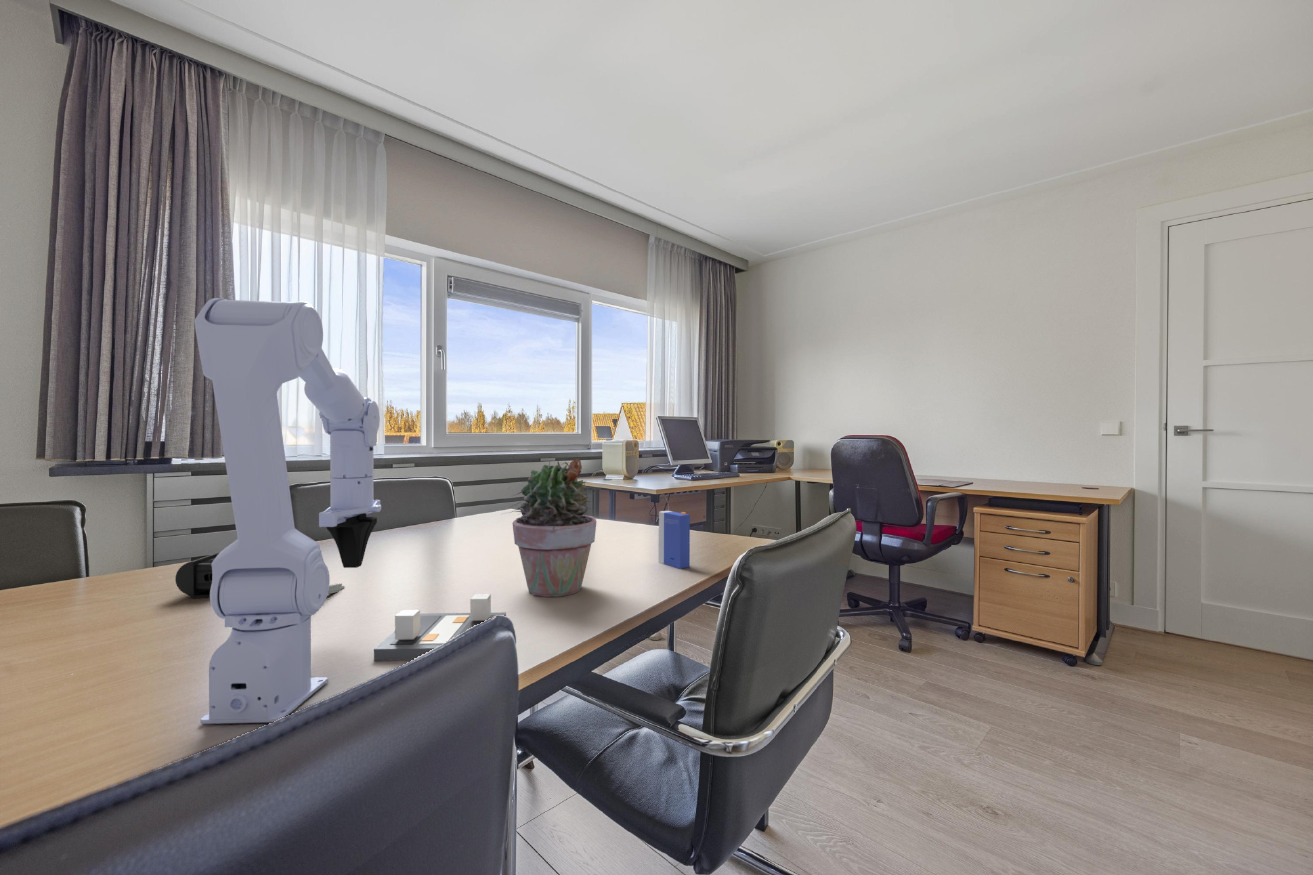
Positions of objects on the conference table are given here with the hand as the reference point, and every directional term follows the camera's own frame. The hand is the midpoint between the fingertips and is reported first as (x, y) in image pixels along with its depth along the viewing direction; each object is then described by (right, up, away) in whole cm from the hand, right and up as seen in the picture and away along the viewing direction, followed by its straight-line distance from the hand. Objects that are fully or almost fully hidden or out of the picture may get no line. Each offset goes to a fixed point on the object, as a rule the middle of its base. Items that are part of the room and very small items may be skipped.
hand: (352, 566), depth 83 cm
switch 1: (+12, -8, -8) cm, 16 cm away
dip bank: (+16, -10, -4) cm, 19 cm away
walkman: (+50, -9, +41) cm, 65 cm away
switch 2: (+20, -8, 0) cm, 21 cm away
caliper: (-13, -10, +12) cm, 20 cm away
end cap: (-36, -9, +19) cm, 42 cm away
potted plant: (+26, -9, +22) cm, 35 cm away
